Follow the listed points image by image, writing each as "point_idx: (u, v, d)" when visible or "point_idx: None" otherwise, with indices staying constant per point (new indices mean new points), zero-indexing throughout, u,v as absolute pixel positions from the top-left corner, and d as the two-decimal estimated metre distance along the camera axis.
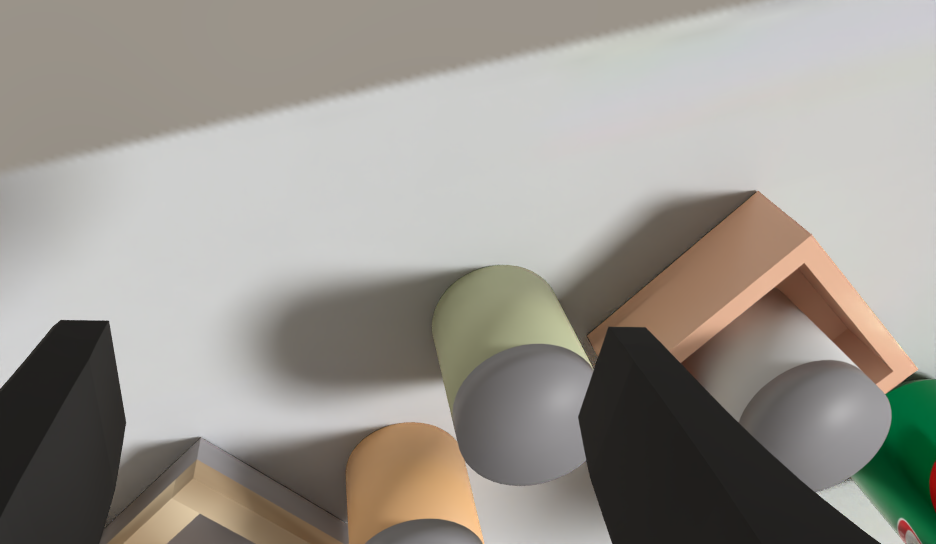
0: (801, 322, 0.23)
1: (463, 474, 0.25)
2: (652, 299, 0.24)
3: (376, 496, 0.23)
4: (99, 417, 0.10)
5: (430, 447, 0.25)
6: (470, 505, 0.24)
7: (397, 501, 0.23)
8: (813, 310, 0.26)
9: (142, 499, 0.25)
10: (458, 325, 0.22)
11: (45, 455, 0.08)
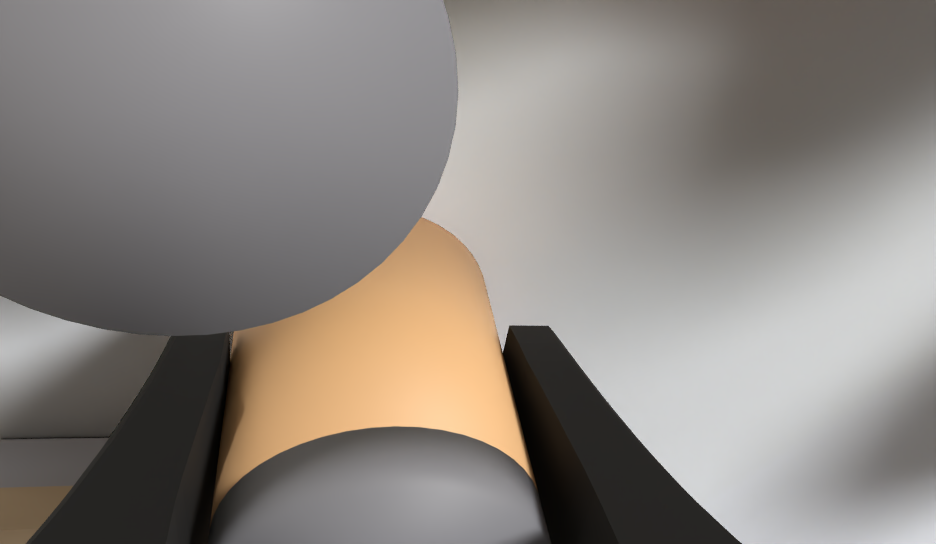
0: None
1: (412, 280, 0.11)
2: None
3: (222, 430, 0.10)
4: None
5: None
6: (421, 351, 0.10)
7: (235, 433, 0.09)
8: None
9: None
10: None
11: (194, 453, 0.09)
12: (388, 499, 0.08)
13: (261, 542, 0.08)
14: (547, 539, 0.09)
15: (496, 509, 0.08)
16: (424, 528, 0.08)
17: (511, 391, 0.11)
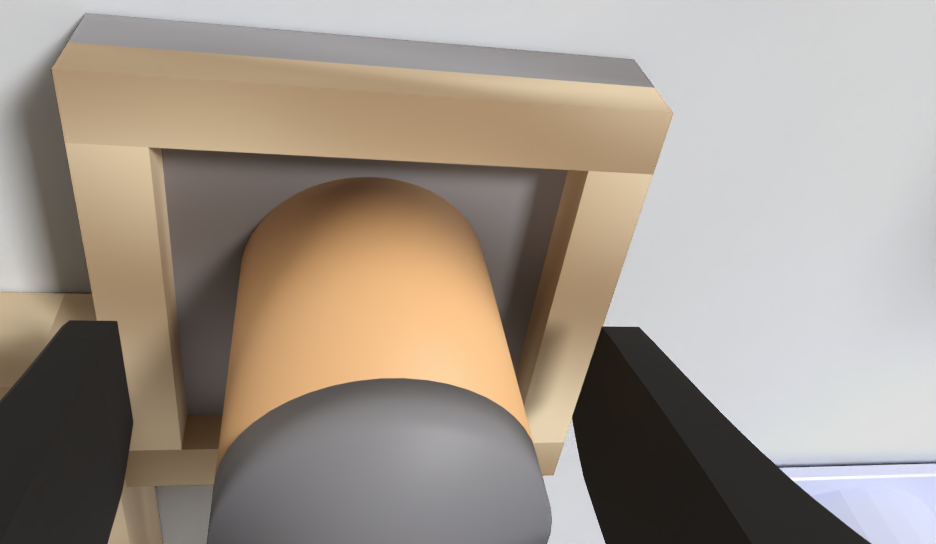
0: None
1: (419, 246, 0.11)
2: None
3: (227, 384, 0.10)
4: (107, 417, 0.10)
5: (324, 227, 0.11)
6: (428, 311, 0.10)
7: (243, 384, 0.10)
8: None
9: None
10: None
11: (55, 456, 0.08)
12: (397, 445, 0.08)
13: (271, 484, 0.08)
14: (545, 494, 0.09)
15: (499, 460, 0.09)
16: (429, 477, 0.09)
17: (510, 358, 0.11)
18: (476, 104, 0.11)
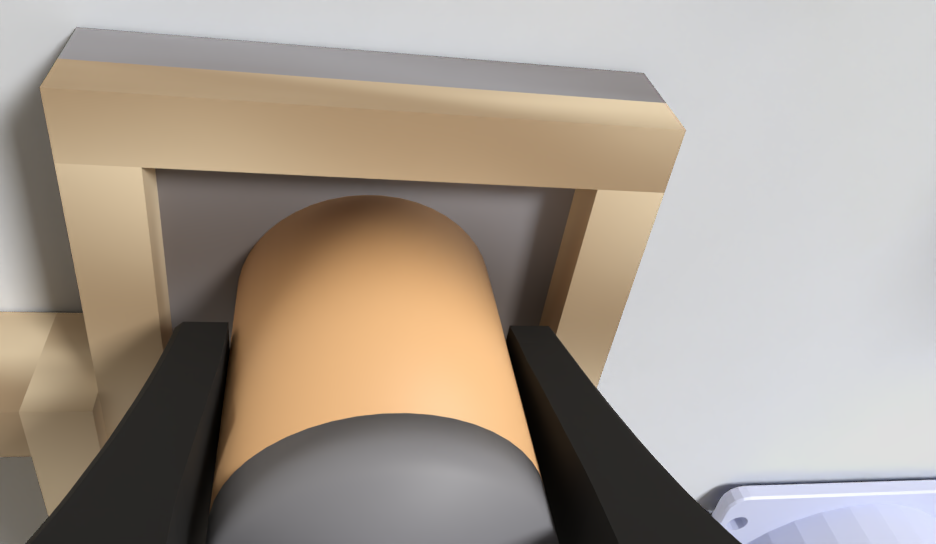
0: None
1: (422, 269, 0.10)
2: None
3: (223, 414, 0.10)
4: None
5: (323, 248, 0.11)
6: (432, 339, 0.09)
7: (238, 416, 0.09)
8: None
9: None
10: None
11: (196, 453, 0.09)
12: (399, 486, 0.08)
13: (267, 526, 0.08)
14: (554, 533, 0.09)
15: (506, 500, 0.08)
16: (433, 517, 0.08)
17: (516, 385, 0.11)
18: (482, 122, 0.10)
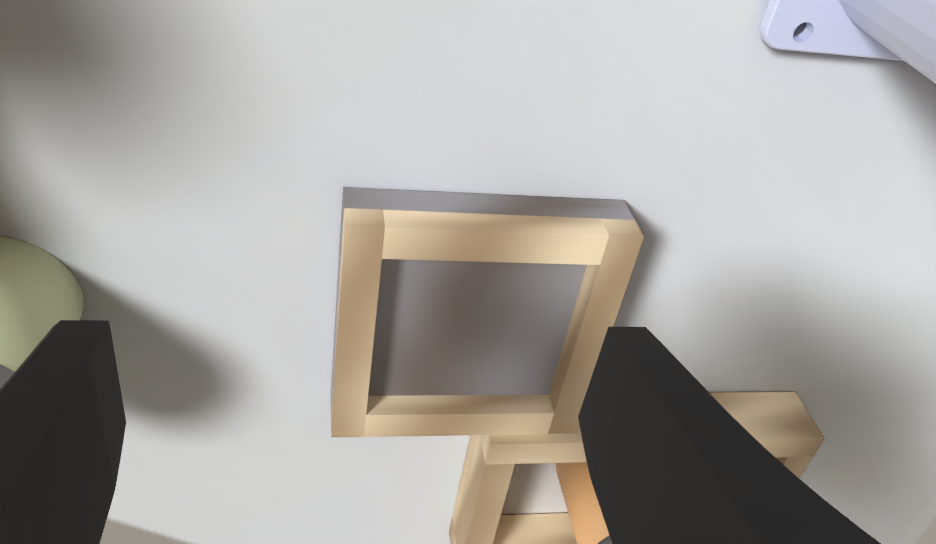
0: None
1: None
2: None
3: None
4: (99, 417, 0.10)
5: (570, 473, 0.29)
6: None
7: None
8: None
9: None
10: None
11: (45, 456, 0.08)
12: None
13: None
14: None
15: None
16: None
17: None
18: (343, 309, 0.22)
